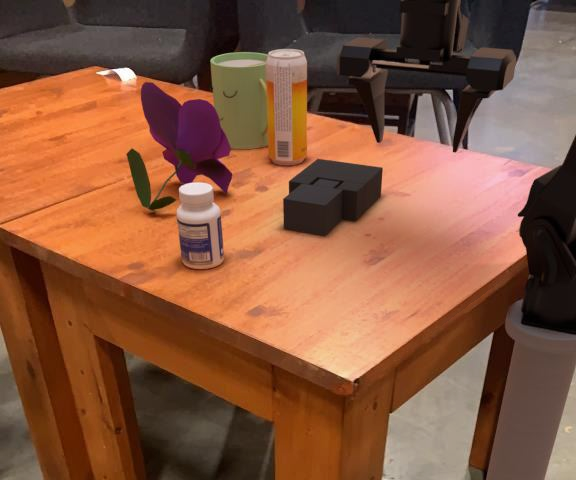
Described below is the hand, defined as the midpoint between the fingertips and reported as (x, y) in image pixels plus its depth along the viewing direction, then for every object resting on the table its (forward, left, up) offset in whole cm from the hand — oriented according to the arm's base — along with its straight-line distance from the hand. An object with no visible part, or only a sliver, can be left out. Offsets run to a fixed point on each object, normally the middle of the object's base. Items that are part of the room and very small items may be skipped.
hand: (416, 146), depth 89 cm
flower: (+35, -2, -12) cm, 37 cm away
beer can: (+28, -24, -12) cm, 39 cm away
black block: (+14, -3, -12) cm, 19 cm away
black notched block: (+14, -10, -12) cm, 21 cm away
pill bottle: (+22, +14, -12) cm, 29 cm away
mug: (+38, -30, -12) cm, 50 cm away
